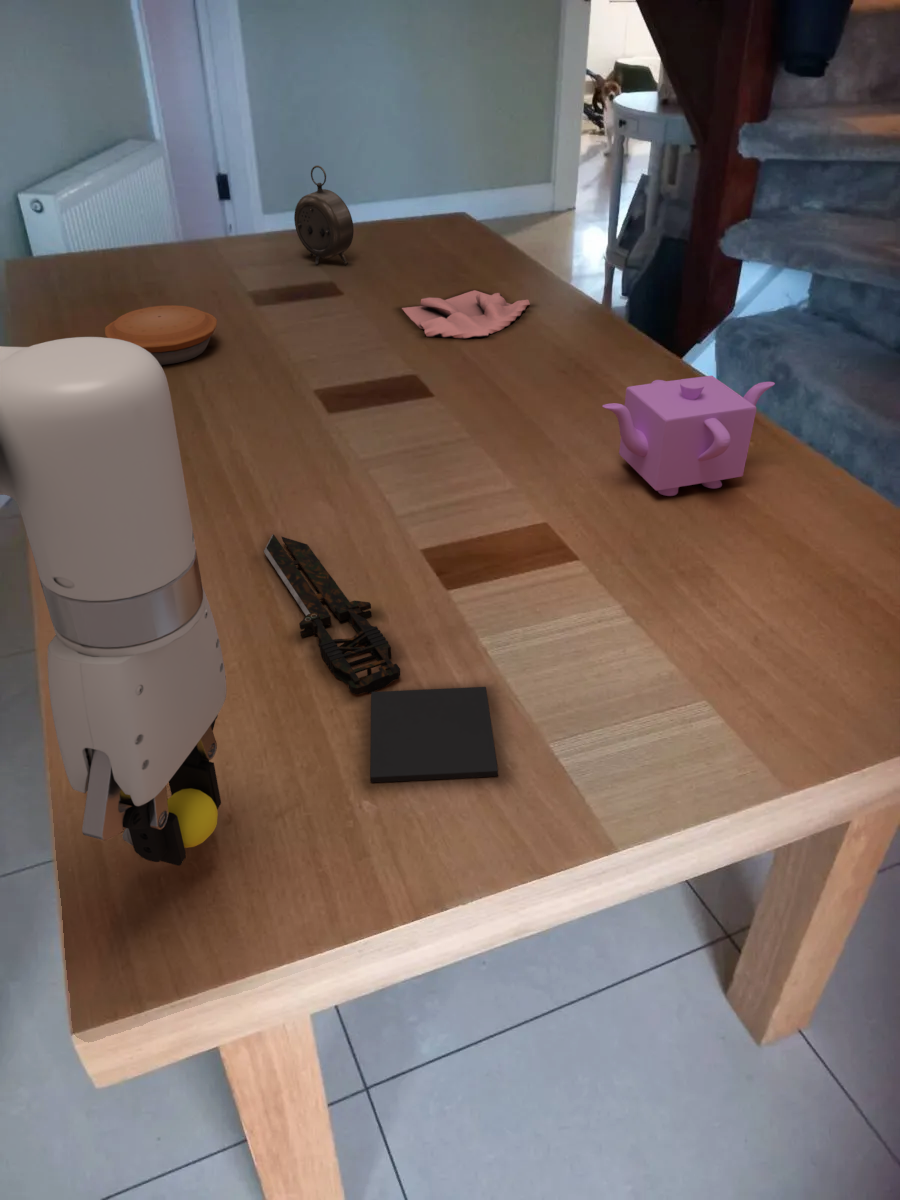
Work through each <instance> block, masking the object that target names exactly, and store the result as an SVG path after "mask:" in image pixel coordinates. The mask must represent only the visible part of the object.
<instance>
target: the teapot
mask: <svg viewBox="0 0 900 1200" xmlns="http://www.w3.org/2000/svg"><path fill="white" fill-rule="evenodd" d="M775 385H776V382H774V381H761V382H758V383H756V384H754V385H753V386H752V387H750V388H749V389H748V390H747V392H746V393H745V394H744V395H743V396H742V395H740V394H739V393H737V392H736V391H735V390H733V389H732V388H730V387H729V386H727V385H726V384H725V383H724V382H722V381H720V380H719V379H718V378H716V377H714V375H705V376H696V377H690V378H682V379H674V380H667V381H666V380H664V379H655V380H653V381H651V383H644V384H637V385H630V386H627V387H626V389H625V397H624V404H623V403H622V404H621V403H616V402H615V403H612V402H611V403H605V404H602V406H601V407H602V408H604V409H606V410H608V411H610V412H612V413H613V414H614V415H615V417H616V418H617V422H618V428H619V434H620V440H619V441H620V442H619V449H618V450H619V451H618V455H619V456H620V457H621V458H622V459H623V460H624V461H625V462H626V463H627V464H628V465H630V467H631V468H632V469H633V470H634V471H635V472H636V473H637V474H638V475H639V476H640V477H642V479H643V480H644V481H645V482H646V483H647V484H648V485H649V486H651V488H652V489H654V491H656V492H657V493H658V494H660V495H663V496H665V497H666V496H667V497H673V496H677V494H679V489H680V487H687V486H692V485H693V486H694V485H699V484H701V485H702V486H703V487H705V488H708V489H719V488H721V487H722V486H723V483H722V481H723V480H724V481H725V480H729V479H730V480H731V479H733V478H735V479H736V478H740V477H744V474H745V473H744V472H745V468H746V463H747V457H748V453H749V448H750V443H751V438H752V433H753V429H754V423H755V418H756V414H757V409H758V408H757V406H756V405H757V404H758V401H759V400H760V398H761V396H762V395H764V393H765V392H766V391H768V390H769V389H770V388H772V387H774V386H775Z"/></svg>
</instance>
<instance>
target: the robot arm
mask: <svg viewBox="0 0 900 1200" xmlns="http://www.w3.org/2000/svg"><path fill="white" fill-rule="evenodd" d="M182 463H183V462H182V457H181V451H180V445H179V439H178V433H177V425H176V419H175V414H174V408H173V403H172V395H171V391H170V387H169V383H168V378H167V375H166V373H165V371H164V368H163V367H162V365H160V364H159V362H158V361H157V359H156V358H155V357H154V356H153V355H152V354H151V353H149V352H148V351H147V350H145V349H144V348H142V347H140V346H138V345H136V344H133V343H131V342H128V341H124V340H119V339H113V338H107V337H102V336H76V337H65V338H59V339H53V340H48V341H45V342H41V343H36V344H33V345H30V346H4V345H0V496H7V497H10V498H11V499H13V500H14V501H15V503H16V505H17V506H18V509H19V513H20V516H21V519H22V522H23V526H24V529H25V533H26V536H27V539H28V543H29V546H30V550H31V553H32V557H33V560H34V563H35V567H36V570H37V574H38V579H39V582H40V586H41V589H42V593H43V596H44V600H45V604H46V607H47V610H48V613H49V617H50V620H51V623H52V627H53V630H54V634H55V635H54V636H53V638H51V640H50V642H49V643H48V645H47V679H48V690H49V691H48V692H49V698H50V707H51V713H52V719H53V725H54V730H55V734H56V739H57V744H58V748H59V752H60V756H61V760H62V763H63V767H64V770H65V775H66V778H67V781H68V783H69V785H70V786H71V788H72V790H74V791H76V792H78V793H79V792H80V793H82V794H86V798H85V805H84V812H83V820H82V828H81V833H82V835H83V836H86V837H89V838H93V839H97V840H101V841H108V840H110V839H112V838H114V837H116V836H118V835H120V834H123V833H124V831H125V829H126V828H128V829H129V832H130V836H131V840H132V843H133V846H132V847H133V850H134V852H135V853H136V854H137V855H139V856H140V857H141V858H142V859H144V860H146V861H150V862H153V863H159V862H163V863H166V864H171V865H174V866H182V864H183V863H184V861H185V860H186V859H187V858H186V857H187V856H186V855H187V853H186V848H184V843H183V839H182V835H181V830H180V826H179V821H178V817H177V816H176V815H175V814H174V813H171V812H169V810H168V791H167V790H168V789H167V784H168V785H169V786H168V787H169V790H170V795H171V796H172V795H173V794H174V793H176V792H178V791H180V790H182V789H190V788H192V789H197V790H200V791H202V792H203V793H205V794H207V795H208V796H209V797H211V798H212V800H213V801H214V803H215V805H216V807H217V810H219V808H220V806H221V805H222V799H221V794H220V789H219V784H218V777H217V771H216V766H215V762H214V761H213V762H212V761H211V760H213V758H214V757H215V755H216V753H217V747H218V744H217V740H216V737H215V734H214V728H215V724H216V720H217V719H218V716H219V714H220V712H221V710H222V708H223V706H224V704H225V702H226V699H227V691H228V689H227V675H226V669H225V668H226V667H225V662H224V656H223V650H222V646H221V641H220V637H219V633H218V629H217V625H216V621H215V619H214V615H213V612H212V609H211V605H210V602H209V600H208V596H207V594H206V591H205V588H204V585H203V582H202V577H201V576H202V575H201V571H200V564H199V558H198V553H197V552H198V551H197V546H196V542H195V541H196V540H195V533H194V529H193V522H192V516H191V511H190V505H189V499H188V493H187V487H186V482H185V474H184V470H183V468H184V467H183V464H182Z"/></svg>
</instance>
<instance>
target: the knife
mask: <svg viewBox="0 0 900 1200" xmlns="http://www.w3.org/2000/svg"><path fill="white" fill-rule="evenodd" d="M281 540H282V542H283V544H284V545H285V546H286V548H287V549H288V550H289V552H290V554H291V555H292V556H293V558H294V559H295V560H292V559H291V557H290V555H289V554H288V553H287V551H286V549H285V548H284V547H283V546H282V544H281V543H280V541H279V540H278V538H277V537H276V536H275V534H273V533H272V534H271V536H270V538H269V539H268V541H267V544H266V546H265V548H264V550H263V553H264V555H265V556H266V558H267V559H268V560H269V562H270V563H271V565H272V567H273V568H274V569H275V571H276V573H277V574H278V576H279V577H280V579H281V580H282V582H283V583H284V585H285V586H286V588H287V589H288V591H289V592H290V594H291V596H292V597H293V598H294V600H295V601H296V603H297V605H298V606H299V607H300V609H301V611H302V612H303V613H304V615H305V617H304V618H303V619H302V620H300V622H299V629H300V632H299V633H300V637H301V638H307V637H310V636H312V635H317V637H318V647H319V648H320V657H321V659H323V662H324V663H325V664H326V666H327V668H328V669H329V670H330V673H331V674H333V675H334V677H335V678H336V680H339V681H342V682H343V683H344V684H346V685H348V690H349V691H350V692H351V694H352V695H357V696H359V695H361V694H365V693H367V694H371V692H378V691H380V690H381V689H384V688H385V687H387V686H388V685H390V684H392V683H393V682H394V681H398V680H399V679H400V677H401V668H400V667H399V665H398V664H397V663H393V662H392V660H391V659H392V647H391V645H390V644H389V640H388V639H387V638H386V637H385V636H384V634H383V633H382V632H381V630H380V629H379V627H378V626H377V625H376V626H373V625H371V623H370V622H369V621H368V620H367V619H368V618H370V617H372V611H371V610H370V609H372V603H371V602H370V601H362V600H352V601H350V600H349V598H348V597H347V596H346V594H344V592H343V591H342V589H341V588H340V587H339V585H338V584H337V583H336V581H335V580H334V579H333V577H332V575H331V574H330V573H329V572H328V570H327V569H326V568H325V566H324V565H323V564H322V562H321V560H320V559H319V558H318V557H317V555H316V554H315V553H314V551H313V550H312V548H311V547H310V546H309V544H307V543H304V542H301V541H297V540H294V539H291V538H287V537H284V536H281ZM298 565H299V566H300V567H301V569H302V571H303V572H304V573H305V575H306V576H307V577H308V579H309V580H310V582H311V583H312V585H313V586H314V588H315V589H316V590H317V592H318V593H317V594H316V593H315V591H314V590H313V589H312V587H311V586H310V584H309V583H308V582H307V580H306V578H305V577H304V575H303V574H302V573H301V571H300V570H299V568H298V567H297V566H298ZM323 600H324V602H325V603H326V604H327V606H328V607H329V609H330V610H331V612H332V613H333V614H334V615H335V616H336V617H337V619H338V620H339V622H342V621H346V620H348V623H350V625H351V626H352V628H353V629H354V631H355V632H356V633H357V634H355V635H354V636H352V637H350V638H349V637H348V638H335V639H333V638H332V637H331V635H330V634H329V632H328V630H327V629H326V626H329V625H330V626H331V625H332V619H331V615H330V613H329V612H328V610H327V609H326V607H325V605H324V604H323V602H322V601H323ZM339 644H341V645H339ZM338 645H339V646H338ZM360 646H361V647H360ZM362 646H363V647H362ZM364 653H370V654H371V655H369V656H365V657H361V658H360V659H356V660H353V661H350V662H349V661H348V660H347V659H348V658H352V657H354V656H359V655H361V654H364ZM374 660H376V661H375V662H371V661H374ZM367 662H371V663H369V664H366V665H365V663H367ZM362 664H364V665H363V666H359V665H362ZM356 666H359V667H356ZM353 667H356V668H353ZM377 667H378V670H379V671H374V672H372V669H373V668H377ZM364 671H366V675H364V676H361V677H359V676H358V675H357V674H358V673H361V672H364Z"/></svg>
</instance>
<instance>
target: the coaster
mask: <svg viewBox="0 0 900 1200" xmlns="http://www.w3.org/2000/svg"><path fill="white" fill-rule="evenodd" d="M487 691H488V689H487V687H486V686H473V687H472V686H471V687H470V686H469V687H450V688H427V689H406V690H404V689H403V690H385V691H382V690H381V691H380V690H379V691H374V692H371V693H370V755H369V756H370V759H369V760H370V763H369V764H370V767H369V771H370V772H369V777H370V778H369V779H370V783H390V782H412V781H413V782H414V781H430V780H433V781H434V780H450V779H454V780H455V779H471V778H472V779H473V778H490V777H494V778H495V777H498V775H499V769H498V762H497V754H496V748H495V740H494V734H493V733H494V732H493V725H492V720H491V711H490V706H489V699H488V692H487Z"/></svg>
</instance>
